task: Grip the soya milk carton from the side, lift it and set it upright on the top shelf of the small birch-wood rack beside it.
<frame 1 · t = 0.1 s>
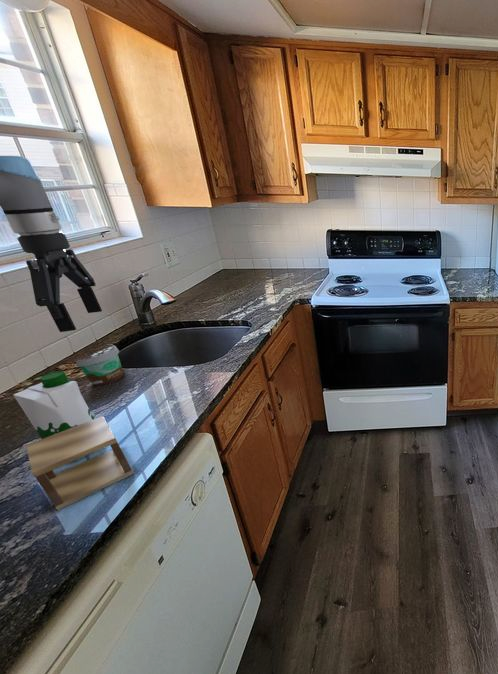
hand: (82, 320, 90), 29 cm above the counter, tool pointing down, fingers open, 13 cm apart
rack: (92, 477, 81), on the counter
food container: (114, 378, 121), on the counter
soya milk: (81, 449, 90), on the counter
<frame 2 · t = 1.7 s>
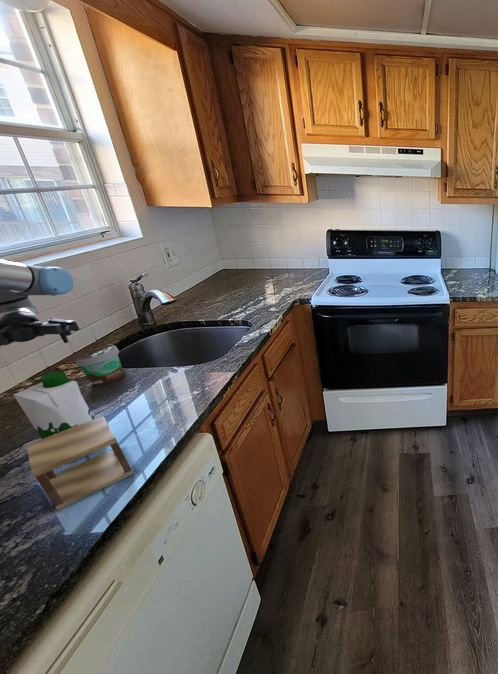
hand: (23, 348, 84), 25 cm above the counter, tool horizontal, fingers open, 13 cm apart
nothing on the counter moved.
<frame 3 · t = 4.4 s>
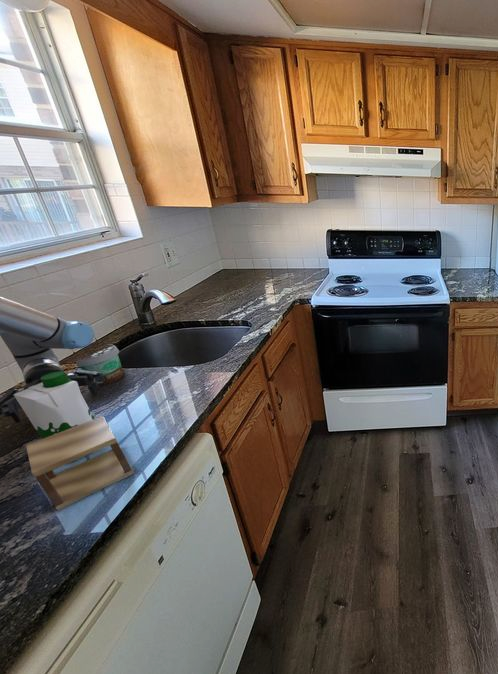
hand: (56, 403, 88), 11 cm above the counter, tool horizontal, fingers open, 13 cm apart
nothing on the counter moved.
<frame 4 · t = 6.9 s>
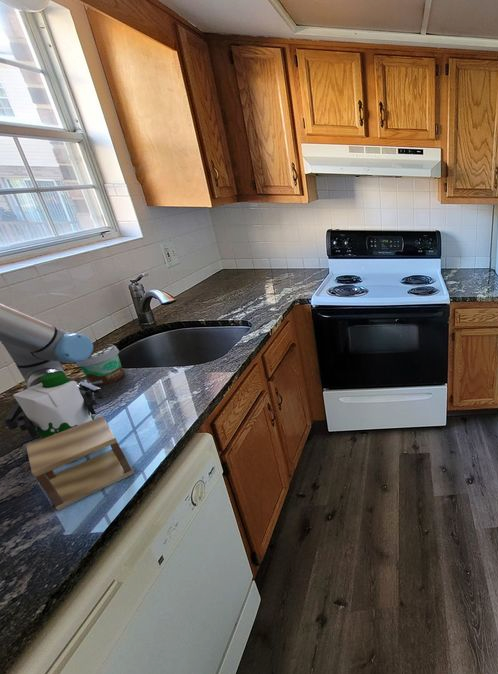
hand: (62, 420, 83), 11 cm above the counter, tool horizontal, fingers closed on soya milk, 9 cm apart
soya milk: (81, 449, 90), on the counter, touching gripper
everything else where it was.
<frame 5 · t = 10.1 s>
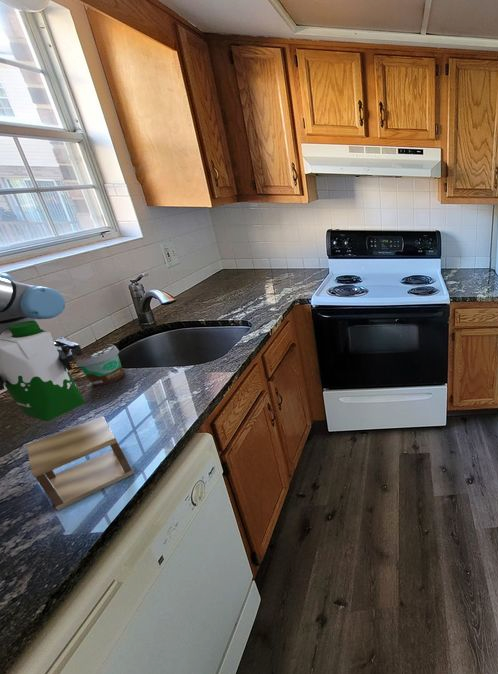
hand: (34, 373, 74), 25 cm above the counter, tool horizontal, fingers closed on soya milk, 9 cm apart
soya milk: (57, 410, 82), point 14 cm above the counter, touching gripper
everything else where it was.
when the fingers open (21 cm above the counter, at t = 13.4 s): soya milk stays where it is, resting on rack.
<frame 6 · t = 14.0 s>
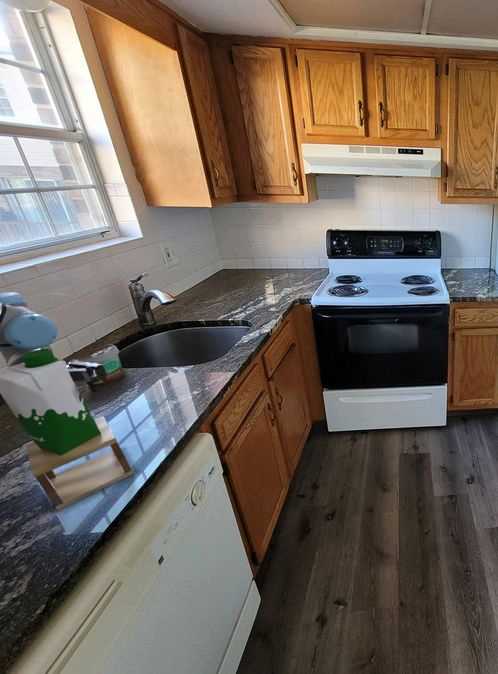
hand: (45, 402, 70), 22 cm above the counter, tool horizontal, fingers open, 13 cm apart
soya milk: (71, 442, 77), point 10 cm above the counter, touching rack
everything else where it was.
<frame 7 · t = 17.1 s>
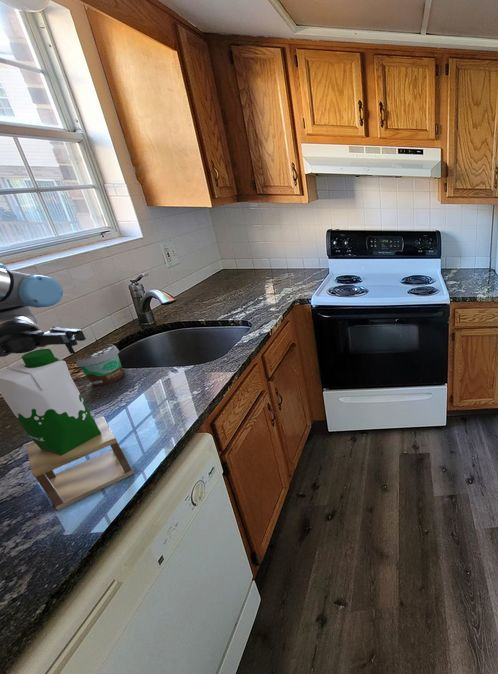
hand: (25, 359, 75), 27 cm above the counter, tool horizontal, fingers open, 13 cm apart
nothing on the counter moved.
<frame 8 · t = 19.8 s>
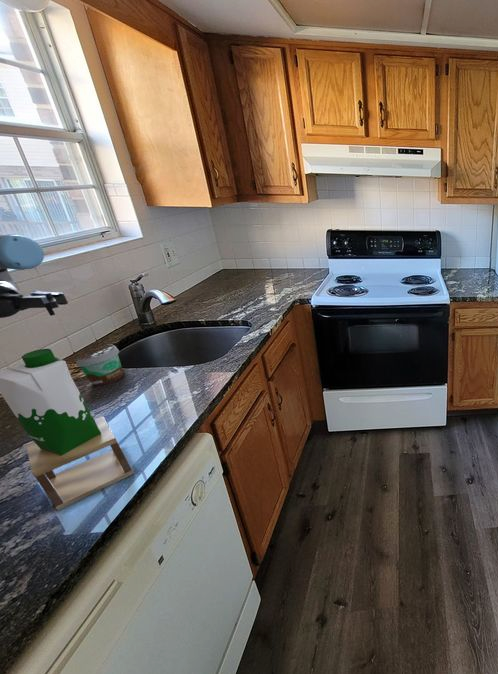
hand: (1, 319, 71), 36 cm above the counter, tool horizontal, fingers open, 13 cm apart
nothing on the counter moved.
at the end: soya milk inside the target area on the rack (0.1 cm from its centre), point 10.0 cm above the rack's base; soya milk tilted 0°; the gripper is holding nothing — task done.
